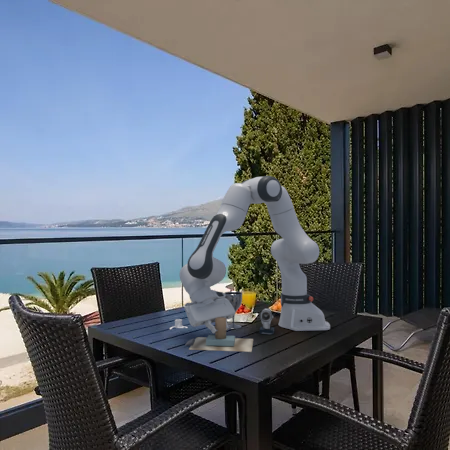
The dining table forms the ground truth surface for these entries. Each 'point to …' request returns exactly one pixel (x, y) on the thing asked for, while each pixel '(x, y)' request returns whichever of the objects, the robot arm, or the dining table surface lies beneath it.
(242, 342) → the pine board
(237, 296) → the wine glass
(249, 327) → the dining table surface
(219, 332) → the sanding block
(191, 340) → the graphite chip
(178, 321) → the grey hub with arms
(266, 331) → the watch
